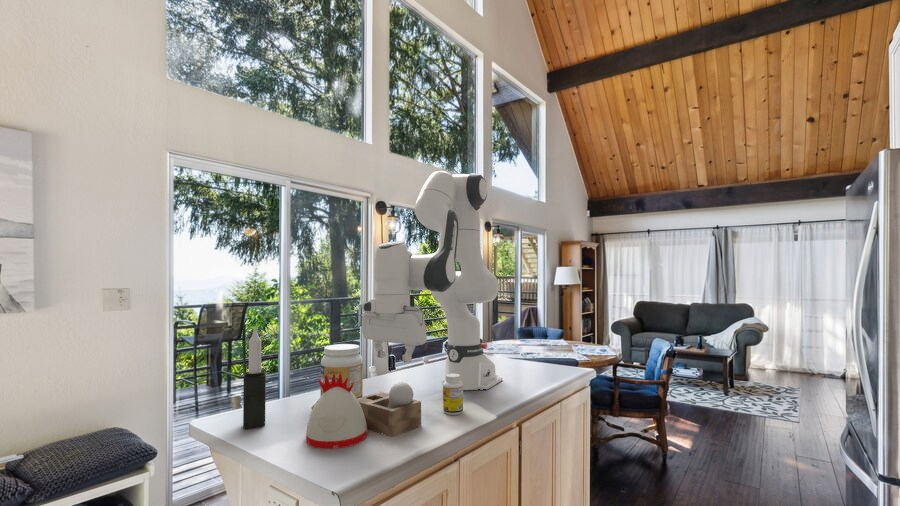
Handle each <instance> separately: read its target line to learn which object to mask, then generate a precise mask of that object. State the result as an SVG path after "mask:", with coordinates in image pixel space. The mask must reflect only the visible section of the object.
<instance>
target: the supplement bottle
mask: <svg viewBox="0 0 900 506" xmlns="http://www.w3.org/2000/svg"><path fill="white" fill-rule="evenodd" d="M442 383H443V384H442V407H443V409H442V410H443V413H444V414H446V415H449V416H457V415H461V414H462V413H463V412H464V390H463V383H462V382H461V381H460V375H459V374H447V375H446V381H445V382H442Z"/></svg>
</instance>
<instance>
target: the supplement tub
mask: <svg viewBox="0 0 900 506" xmlns="http://www.w3.org/2000/svg"><path fill="white" fill-rule="evenodd" d="M360 347H361V346H360V345H359V344H355V343H353V344H352V343H339V344H331V345H326V346H324V348H323V354H324V356H323V357H322V358H321V360H320V380H321V381H322V382H323V383H325V375H326V374H327V376H328V379H329V382H330V383H331V382H332V377H333V374H334V373H335V378H336V382H338V378H339V374H340V373H341V375H342V381H343V382H345V380H346V378H347V377H348V381H347V387H350V386H351V385H352V383H353V382H354V385H353V387H352V389H351V392H352V393H353V394H354V395H355V397H356V398H361V397H364V396H363V393H364V392H363V384H364V383H363V381H364V380H363V379H364V376H363V375H364V372H363V370H364V363H363V362H364V359H363V357H362V355H361V354H360V353H361V349H360ZM323 393H324V392H323V390H322V388H321V387H320V396H321V395H322V394H323Z"/></svg>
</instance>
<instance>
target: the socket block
mask: <svg viewBox="0 0 900 506" xmlns="http://www.w3.org/2000/svg"><path fill="white" fill-rule="evenodd" d="M357 400H358V401H359V403H360V405H361V407H362V410H363V413H364V416H365V420H366V424H367V430H369V431H372V432H376V433H378V432H379V434H381V433H383V434H382V435H384V434H385V435H384V436H388V437H391V438H394V437H396V436H398V435H401V434H403V433H406V432H409V431H411V430H413V429H416V428H418V427H420V426H421V427H422V401H421V400H416V399H414V398H413V399H412V401H411V403H409V404H406V405H403V406H400V407H397V408H394V409H391V408H388V405H389V392H384V391H378V392H375V393H371V394H368V395H365V396H363V397H361V398H357Z"/></svg>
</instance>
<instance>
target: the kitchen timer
mask: <svg viewBox="0 0 900 506" xmlns="http://www.w3.org/2000/svg"><path fill="white" fill-rule="evenodd" d="M347 381H348V377H347V378H346V380H345V382H343V381H342V375H341V373H340V374H339V378H338V382H336V378H335V373H334V374H333V377H332V382H331V383H330V382H329V379H328V376H327V374H326V375H325V383H323V382H322V381H321V379H318V383H319V386H320V389H321V388H322V390H323V392H324V393H323V394H322V395H321V394H320V396H319V398H318V399H317V400H316V402H315V403H314V404H313V405H312V406H311V412H310V415H309V419H308V422H307V426H306V433H305V439H306V440H305V441H306V444H308V446H310V447H312V448H315V449H322V450H326V449H328V450H331V449H332V450H333V449H341V448H347V447H351V446H354V445H357V444H359V443H361V442H363V441H364V440H365V439H366V438H367V435H368V429H367V424H366V420H365V416H364V413H363V410H362V407H361V405H360V403H359V401H358V400H357V398H356V397H355V395H354V394H353V393H352V392H351V389H352V387H353V385H354V382H353V383H352V385H351V386H350V387H347Z"/></svg>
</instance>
